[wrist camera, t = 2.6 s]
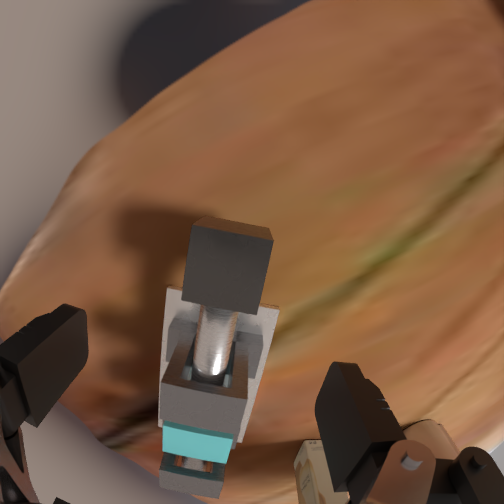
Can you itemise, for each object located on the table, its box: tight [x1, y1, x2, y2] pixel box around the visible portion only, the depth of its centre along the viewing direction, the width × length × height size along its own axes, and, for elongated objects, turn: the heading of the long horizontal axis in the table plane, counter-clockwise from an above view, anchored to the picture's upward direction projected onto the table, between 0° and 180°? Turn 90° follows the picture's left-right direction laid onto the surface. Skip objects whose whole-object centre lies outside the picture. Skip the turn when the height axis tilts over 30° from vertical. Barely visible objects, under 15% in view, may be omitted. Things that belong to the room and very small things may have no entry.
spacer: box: [163, 420, 233, 464], centre depth 24 cm, size 6×4×6 cm, turn 78°
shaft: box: [181, 216, 274, 472], centre depth 23 cm, size 28×5×5 cm, turn 169°
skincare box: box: [294, 440, 348, 504], centre depth 29 cm, size 6×4×12 cm
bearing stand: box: [158, 285, 279, 499], centre depth 26 cm, size 11×20×11 cm, turn 169°
